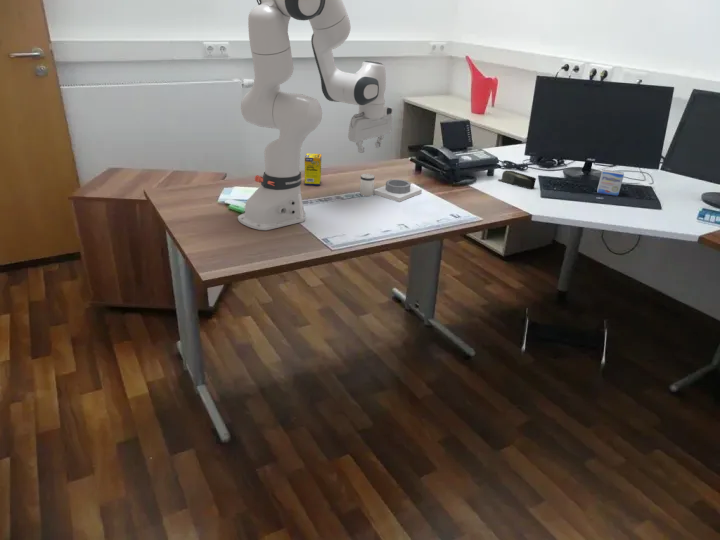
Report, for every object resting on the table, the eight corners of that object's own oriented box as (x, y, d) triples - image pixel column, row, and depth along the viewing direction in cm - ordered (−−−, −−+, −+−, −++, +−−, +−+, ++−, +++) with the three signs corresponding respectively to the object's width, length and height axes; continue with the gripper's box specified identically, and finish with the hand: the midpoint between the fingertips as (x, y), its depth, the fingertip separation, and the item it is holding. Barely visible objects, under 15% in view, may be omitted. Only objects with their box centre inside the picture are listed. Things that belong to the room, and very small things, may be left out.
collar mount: (399, 202, 199) (399, 191, 197) (373, 193, 205) (373, 183, 203) (421, 193, 208) (422, 183, 206) (396, 185, 215) (396, 175, 213)
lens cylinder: (367, 197, 202) (368, 178, 198) (357, 193, 204) (357, 175, 201) (376, 194, 205) (377, 175, 202) (365, 190, 208) (366, 172, 205)
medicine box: (596, 193, 218) (602, 171, 214) (597, 189, 222) (602, 168, 218) (618, 196, 215) (624, 174, 211) (618, 192, 219) (623, 171, 215)
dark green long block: (537, 176, 218) (502, 167, 226) (534, 178, 215) (499, 169, 223) (534, 188, 220) (500, 179, 228) (531, 190, 218) (496, 181, 226)
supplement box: (320, 186, 210) (320, 158, 205) (304, 185, 210) (304, 157, 205) (321, 181, 216) (321, 153, 211) (306, 180, 216) (306, 153, 211)
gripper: (358, 116, 182) (357, 157, 189) (396, 108, 196) (393, 146, 203) (344, 113, 186) (343, 153, 192) (382, 105, 200) (380, 143, 206)
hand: (369, 149), depth 197 cm, fingers open, 8 cm apart
